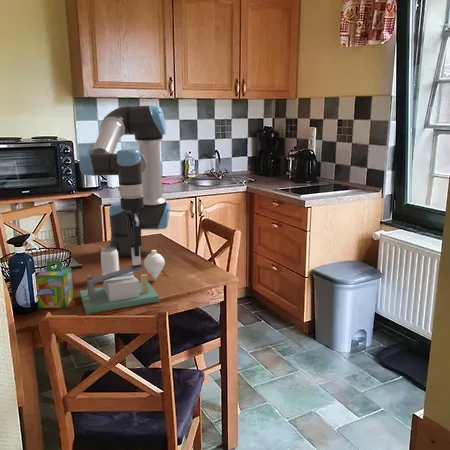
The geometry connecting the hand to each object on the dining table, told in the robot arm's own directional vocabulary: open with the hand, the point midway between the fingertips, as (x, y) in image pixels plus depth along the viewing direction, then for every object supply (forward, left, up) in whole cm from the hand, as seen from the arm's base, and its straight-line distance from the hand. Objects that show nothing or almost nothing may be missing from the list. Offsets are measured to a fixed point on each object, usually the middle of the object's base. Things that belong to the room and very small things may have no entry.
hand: (136, 264), depth 161 cm
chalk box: (-5, -27, -12) cm, 30 cm away
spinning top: (-12, +9, -12) cm, 20 cm away
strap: (0, -7, -3) cm, 8 cm away
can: (-21, -6, -12) cm, 25 cm away
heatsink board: (0, -7, -12) cm, 14 cm away
